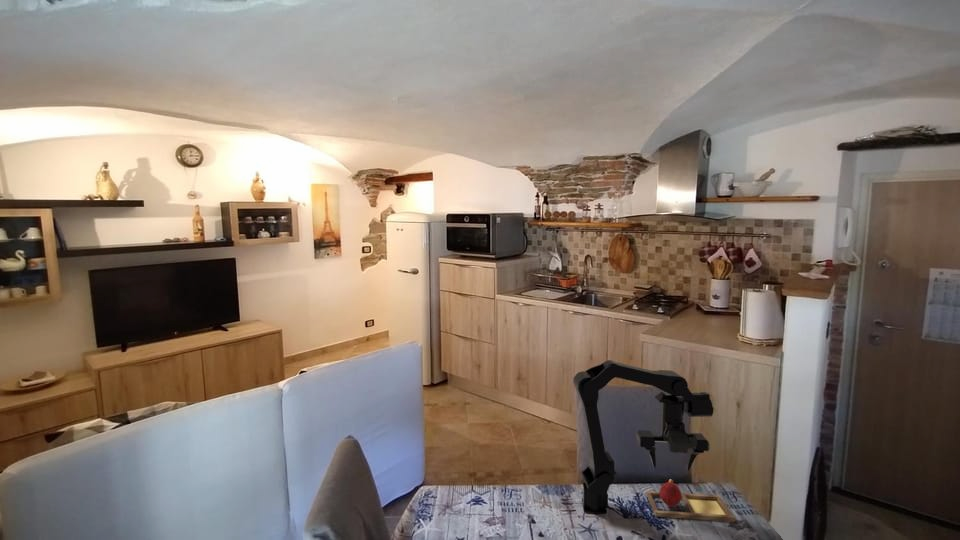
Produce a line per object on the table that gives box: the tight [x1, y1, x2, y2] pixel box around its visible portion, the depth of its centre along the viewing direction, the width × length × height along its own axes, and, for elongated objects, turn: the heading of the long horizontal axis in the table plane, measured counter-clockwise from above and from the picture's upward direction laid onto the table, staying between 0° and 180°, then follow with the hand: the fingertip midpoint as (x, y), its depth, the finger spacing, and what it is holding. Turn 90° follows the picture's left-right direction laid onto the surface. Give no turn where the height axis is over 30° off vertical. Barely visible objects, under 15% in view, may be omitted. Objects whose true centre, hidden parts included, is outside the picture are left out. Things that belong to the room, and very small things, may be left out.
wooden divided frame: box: [645, 490, 736, 523], centre depth 132 cm, size 21×11×1 cm, turn 83°
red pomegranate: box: [659, 478, 682, 507], centre depth 132 cm, size 6×6×8 cm
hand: (671, 468), depth 132 cm, fingers open, 9 cm apart
